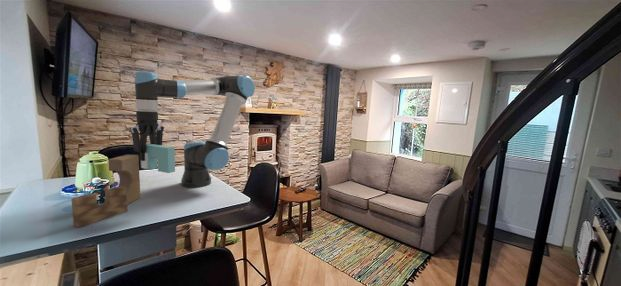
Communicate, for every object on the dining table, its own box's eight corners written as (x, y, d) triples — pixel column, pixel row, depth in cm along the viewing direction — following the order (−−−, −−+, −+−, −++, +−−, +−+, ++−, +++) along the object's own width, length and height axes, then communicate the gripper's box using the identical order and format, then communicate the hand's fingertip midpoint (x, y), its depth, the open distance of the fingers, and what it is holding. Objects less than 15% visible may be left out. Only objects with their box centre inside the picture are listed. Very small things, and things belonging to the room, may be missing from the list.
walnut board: (122, 209, 103) (121, 186, 102) (127, 211, 102) (126, 187, 101) (73, 226, 89) (71, 198, 87) (78, 227, 88) (76, 199, 86)
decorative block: (123, 207, 106) (120, 159, 104) (109, 206, 106) (107, 159, 104) (141, 197, 117) (139, 154, 114) (129, 197, 117) (126, 154, 115)
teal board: (140, 167, 107) (139, 144, 106) (147, 166, 110) (146, 143, 108) (168, 173, 101) (167, 148, 100) (175, 171, 104) (174, 147, 102)
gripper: (158, 110, 113) (160, 162, 116) (120, 110, 98) (123, 170, 101) (171, 111, 110) (172, 164, 113) (133, 111, 95) (136, 172, 98)
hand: (149, 167), depth 107 cm, fingers closed on teal board, 3 cm apart
